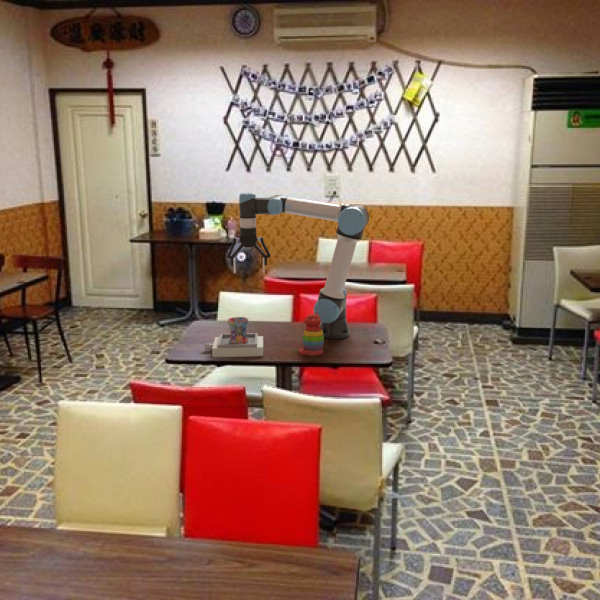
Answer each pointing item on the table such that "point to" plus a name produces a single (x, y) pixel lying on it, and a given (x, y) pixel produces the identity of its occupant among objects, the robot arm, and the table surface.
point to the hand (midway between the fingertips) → (249, 272)
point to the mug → (238, 330)
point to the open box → (236, 346)
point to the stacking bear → (312, 336)
